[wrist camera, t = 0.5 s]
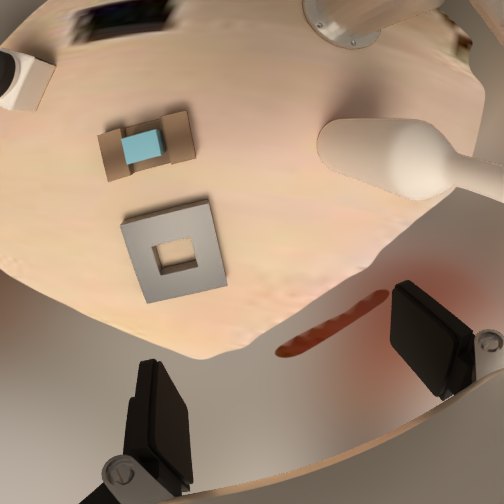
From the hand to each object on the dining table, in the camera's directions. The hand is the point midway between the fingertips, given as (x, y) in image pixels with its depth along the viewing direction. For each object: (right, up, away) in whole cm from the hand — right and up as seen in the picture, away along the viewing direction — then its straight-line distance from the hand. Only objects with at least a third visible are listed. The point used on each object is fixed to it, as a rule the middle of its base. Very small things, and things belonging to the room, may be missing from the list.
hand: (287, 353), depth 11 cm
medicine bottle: (-33, +28, +18) cm, 46 cm away
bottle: (+12, +19, +30) cm, 37 cm away
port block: (-12, +4, +31) cm, 34 cm away
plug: (-14, +17, +25) cm, 34 cm away
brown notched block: (-14, +18, +25) cm, 34 cm away
